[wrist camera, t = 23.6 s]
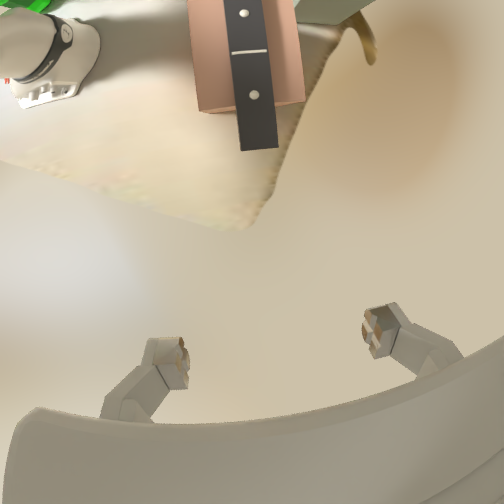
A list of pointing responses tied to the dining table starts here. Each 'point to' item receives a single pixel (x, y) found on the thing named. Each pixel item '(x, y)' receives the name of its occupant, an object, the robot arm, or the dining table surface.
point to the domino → (251, 74)
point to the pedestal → (327, 10)
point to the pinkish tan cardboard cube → (218, 61)
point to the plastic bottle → (26, 4)
